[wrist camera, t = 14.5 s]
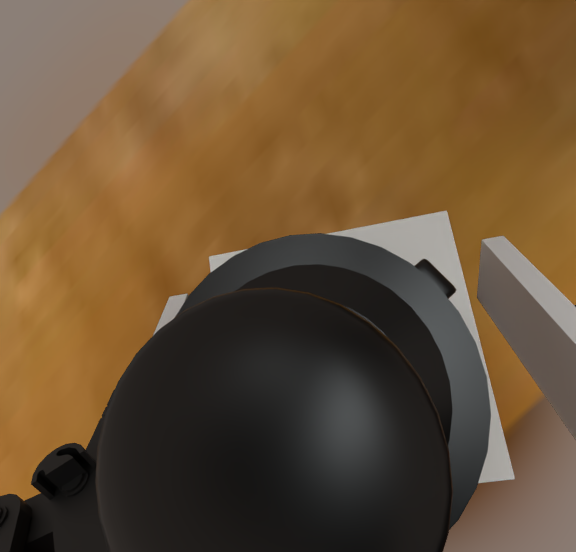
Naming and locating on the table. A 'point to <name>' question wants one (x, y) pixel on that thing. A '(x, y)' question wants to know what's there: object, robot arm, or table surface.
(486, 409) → the french press
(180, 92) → the table surface
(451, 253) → the white square mat
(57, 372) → the table surface
